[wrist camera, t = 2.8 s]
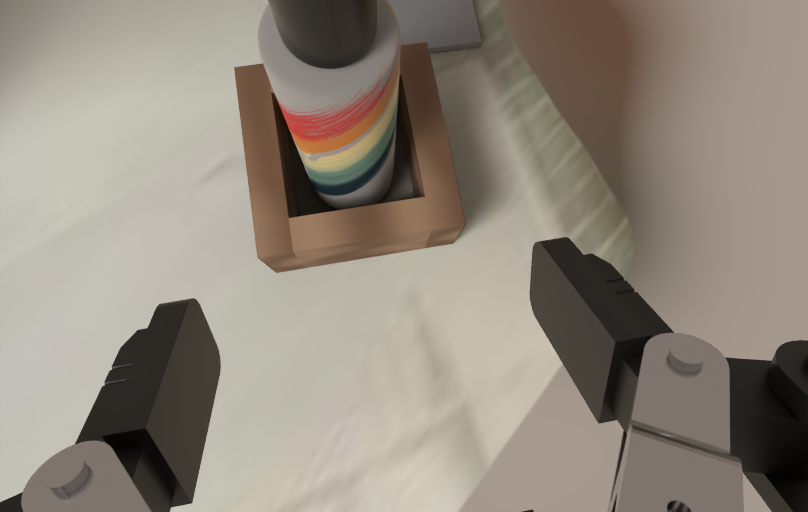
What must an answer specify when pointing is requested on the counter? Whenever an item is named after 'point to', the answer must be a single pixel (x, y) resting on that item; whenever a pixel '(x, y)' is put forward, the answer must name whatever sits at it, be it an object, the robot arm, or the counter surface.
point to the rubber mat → (437, 23)
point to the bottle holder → (362, 226)
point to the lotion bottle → (337, 91)
